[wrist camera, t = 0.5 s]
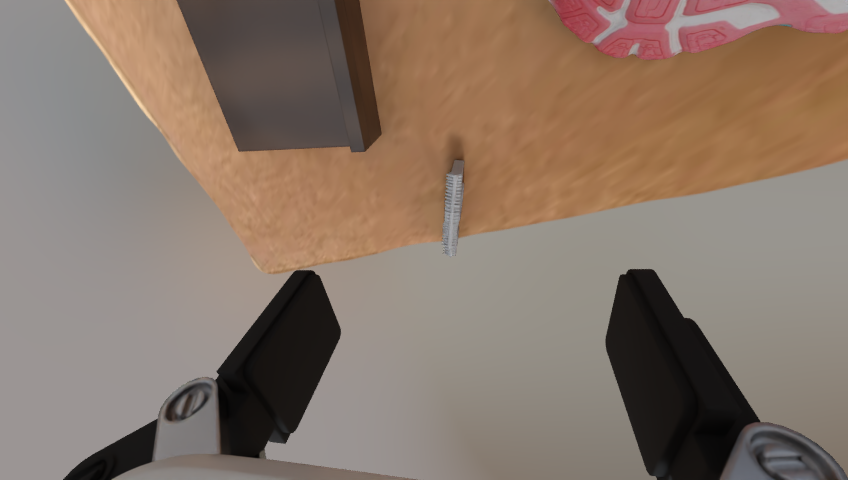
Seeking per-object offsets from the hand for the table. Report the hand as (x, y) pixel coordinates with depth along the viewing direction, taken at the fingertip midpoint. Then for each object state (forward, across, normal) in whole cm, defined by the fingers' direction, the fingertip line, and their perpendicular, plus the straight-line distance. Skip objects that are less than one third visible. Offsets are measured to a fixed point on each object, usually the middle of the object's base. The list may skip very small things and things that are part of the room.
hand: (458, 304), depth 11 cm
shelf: (+29, +19, -10) cm, 37 cm away
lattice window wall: (+30, +4, +12) cm, 32 cm away
